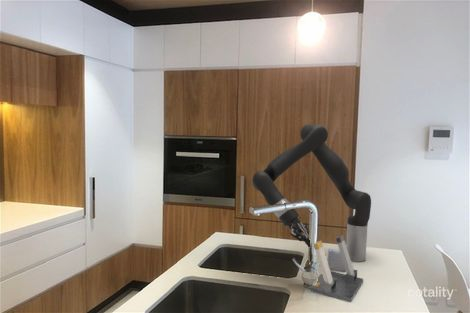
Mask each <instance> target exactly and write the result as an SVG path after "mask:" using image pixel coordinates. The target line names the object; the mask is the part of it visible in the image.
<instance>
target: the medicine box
mask: <svg viewBox="0 0 470 313" xmlns="http://www.w3.org/2000/svg"><path fill="white" fill-rule="evenodd" d="M327 262H328V265H329V269H330V271H337V272H339V271H340V272H346V270H345V266H344V263H343V260H342V256H341V253H340V250H339V248H331V247H329V248H328V257H327Z"/></svg>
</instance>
